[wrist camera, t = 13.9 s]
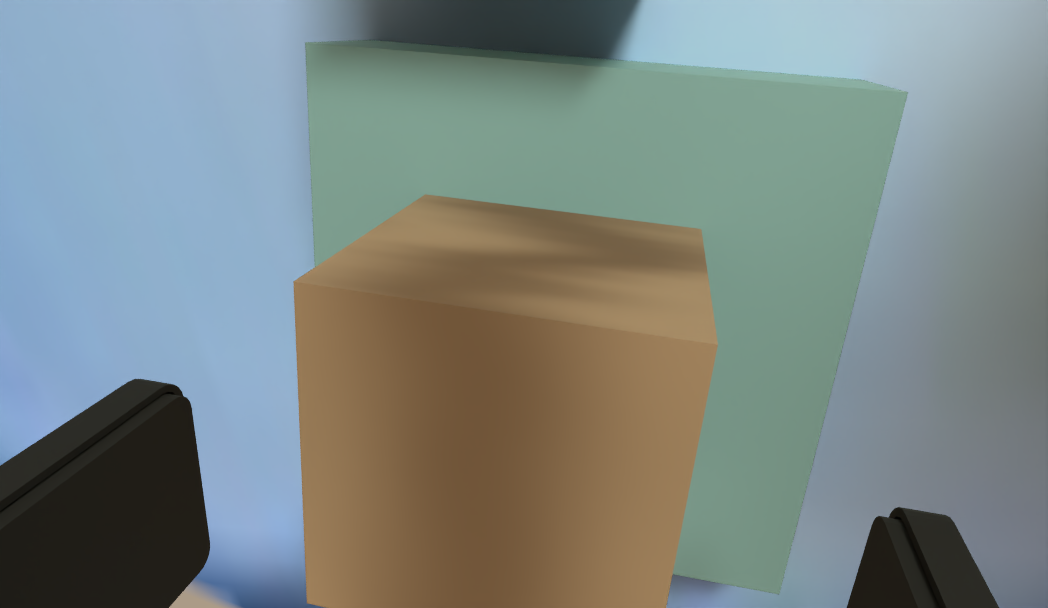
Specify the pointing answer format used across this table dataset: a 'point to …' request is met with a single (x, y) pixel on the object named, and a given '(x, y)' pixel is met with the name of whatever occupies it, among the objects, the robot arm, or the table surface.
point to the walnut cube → (501, 408)
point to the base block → (649, 196)
